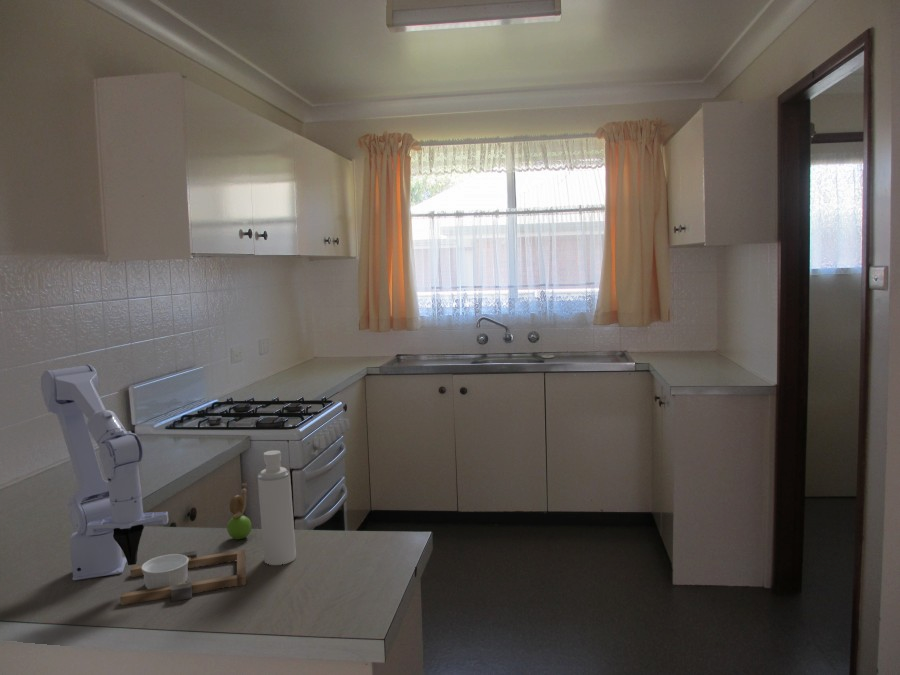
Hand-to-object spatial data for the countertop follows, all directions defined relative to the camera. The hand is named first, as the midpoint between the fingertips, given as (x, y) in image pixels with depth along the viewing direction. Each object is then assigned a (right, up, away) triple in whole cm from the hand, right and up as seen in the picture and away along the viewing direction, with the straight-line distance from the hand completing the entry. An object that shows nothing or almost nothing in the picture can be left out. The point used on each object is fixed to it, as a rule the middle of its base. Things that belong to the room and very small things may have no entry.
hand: (132, 563), depth 143 cm
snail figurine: (+15, -2, +24) cm, 28 cm away
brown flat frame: (+9, -4, +3) cm, 11 cm away
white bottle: (+27, -3, +11) cm, 29 cm away
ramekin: (+6, -5, +2) cm, 8 cm away
